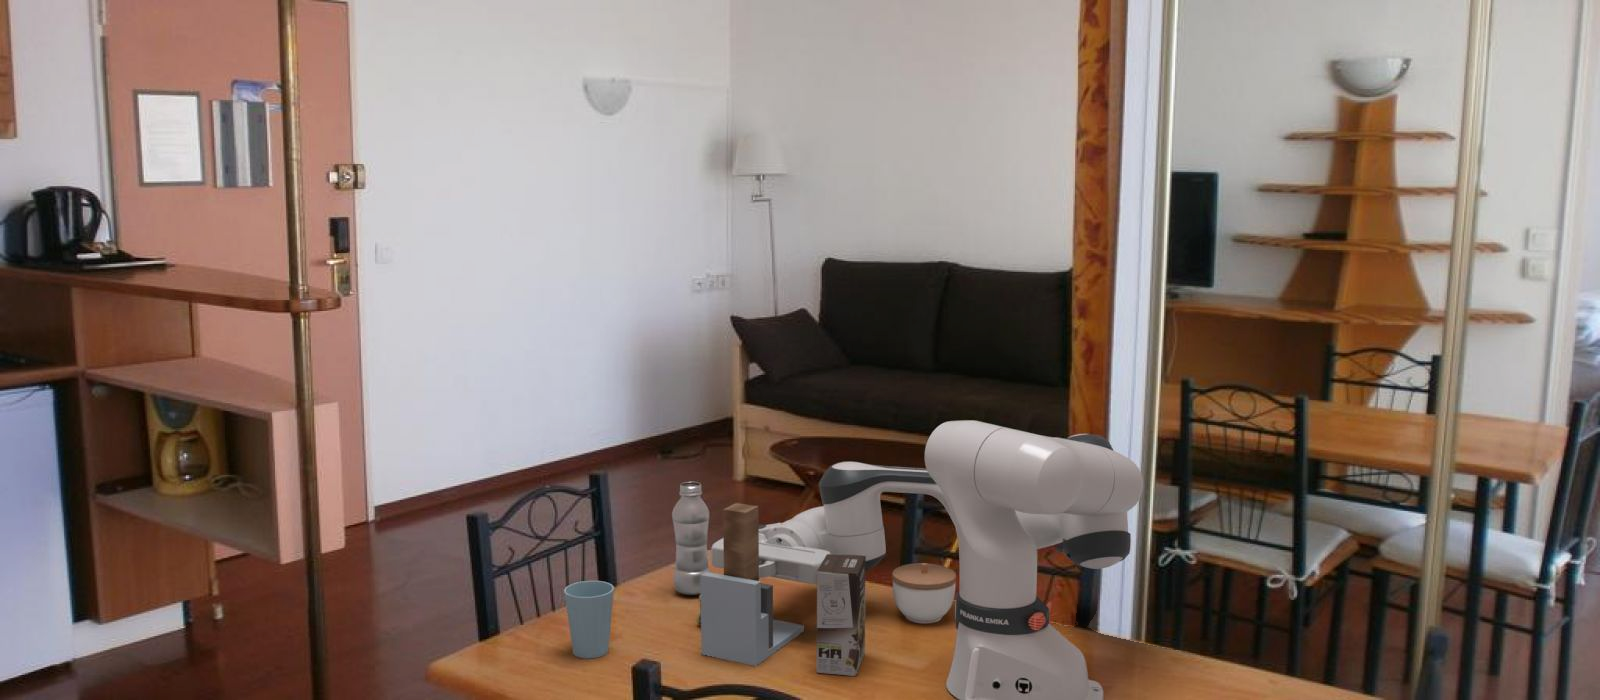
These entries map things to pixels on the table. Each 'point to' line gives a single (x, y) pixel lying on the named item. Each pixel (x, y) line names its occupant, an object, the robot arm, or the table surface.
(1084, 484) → the robot arm
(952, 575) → the lidded jar
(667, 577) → the table surface
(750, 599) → the blue-grey stand
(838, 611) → the coffee box
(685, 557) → the plastic bottle
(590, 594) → the cup
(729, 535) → the peg
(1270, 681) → the table surface
